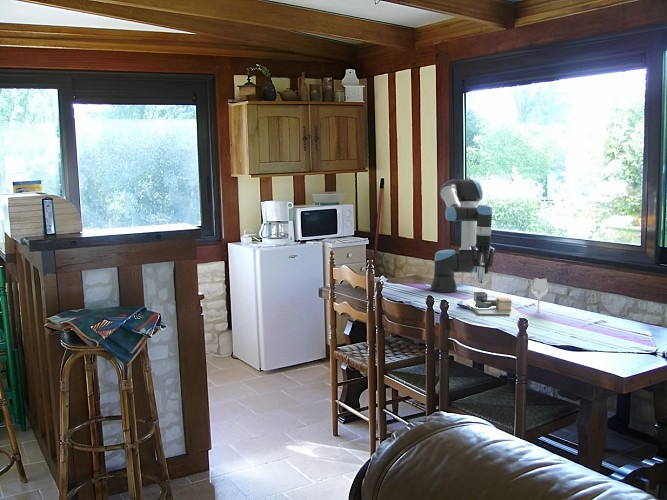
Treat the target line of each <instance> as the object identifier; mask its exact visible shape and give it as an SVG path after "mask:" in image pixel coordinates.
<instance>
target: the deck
mask: <svg viewBox="0 0 667 500" xmlns="http://www.w3.org/2000/svg"><path fill="white" fill-rule="evenodd" d="M468 308H469V309H470V310H471V311H472V312H473V313H474V314H475V315H476V317H504V318H505V317H509V318H510V317H511V318H512V317H514V318H515V317H517V318H519V317H520V318H523V317H525V315H523V314H522V313H520V311H518V310H516V308H514V307H513V306H512V305H511V312H499V311H498V310H497V309H494V310H479V309H475V308H473V307H469V306H468Z"/></svg>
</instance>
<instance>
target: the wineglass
mask: <svg viewBox="0 0 667 500" xmlns="http://www.w3.org/2000/svg"><path fill="white" fill-rule="evenodd" d="M530 291H531V293H532V294H533V295H534V296H535V297H536V298H537V310H536V313H538V314H539V313H541V311H540V300H541V298H543V297H544V296H545V295H547V293H548V291H549V285H548V281H547V278H546V277H545V276H544V277H543V276H535V277H533V280H532V283H531V286H530Z"/></svg>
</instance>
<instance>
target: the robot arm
mask: <svg viewBox="0 0 667 500" xmlns="http://www.w3.org/2000/svg"><path fill="white" fill-rule="evenodd" d="M439 190H440V191H439V195H440V198H441V200H442V201H444V203H445V206H446V207H445V214H444V215H445V220H446V221H448V222H449V221H450V222H461V239H460V240H461V244H460V247H459V248H458V252H457V251H456V250H455V249H441V250H438V251H436V252H435V254H434V268H433V270H434V271H433V278H432V281H431V284H430V290H431V291H433V292H438V293H454V292H457V289H458V287H457V283H456V279H455V273H460V274H462V273H463V274H468V273H469V274H473V273H474V274H475V273H476V277H475V278H476V280H478V279H479V264H480V263H482V260H483V264H484V268H483V279H482V280H484V281H486V280H487V275H488V274H489V268H490V267H492V266H493V261H494V253H495V251H496V248H495V247H492V245H491V242H492V236H491V235H492V222H493V221H492V217H493V206H492V205H491V204H481V202H480V201H481V200H483V196H484V189H483V185H482V183H481V181H480V180H478V179H460V178H459V179H458V178H457V179H456V178H455V179H450V180H448V181H446V182H445V183H443V184H442V186H441V187H440V189H439Z"/></svg>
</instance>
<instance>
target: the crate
mask: <svg viewBox="0 0 667 500" xmlns="http://www.w3.org/2000/svg"><path fill="white" fill-rule="evenodd" d="M495 300H496V309H497V310H498V311H499V312H511V306H512V299H511V298H509V297H496V299H495Z"/></svg>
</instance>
